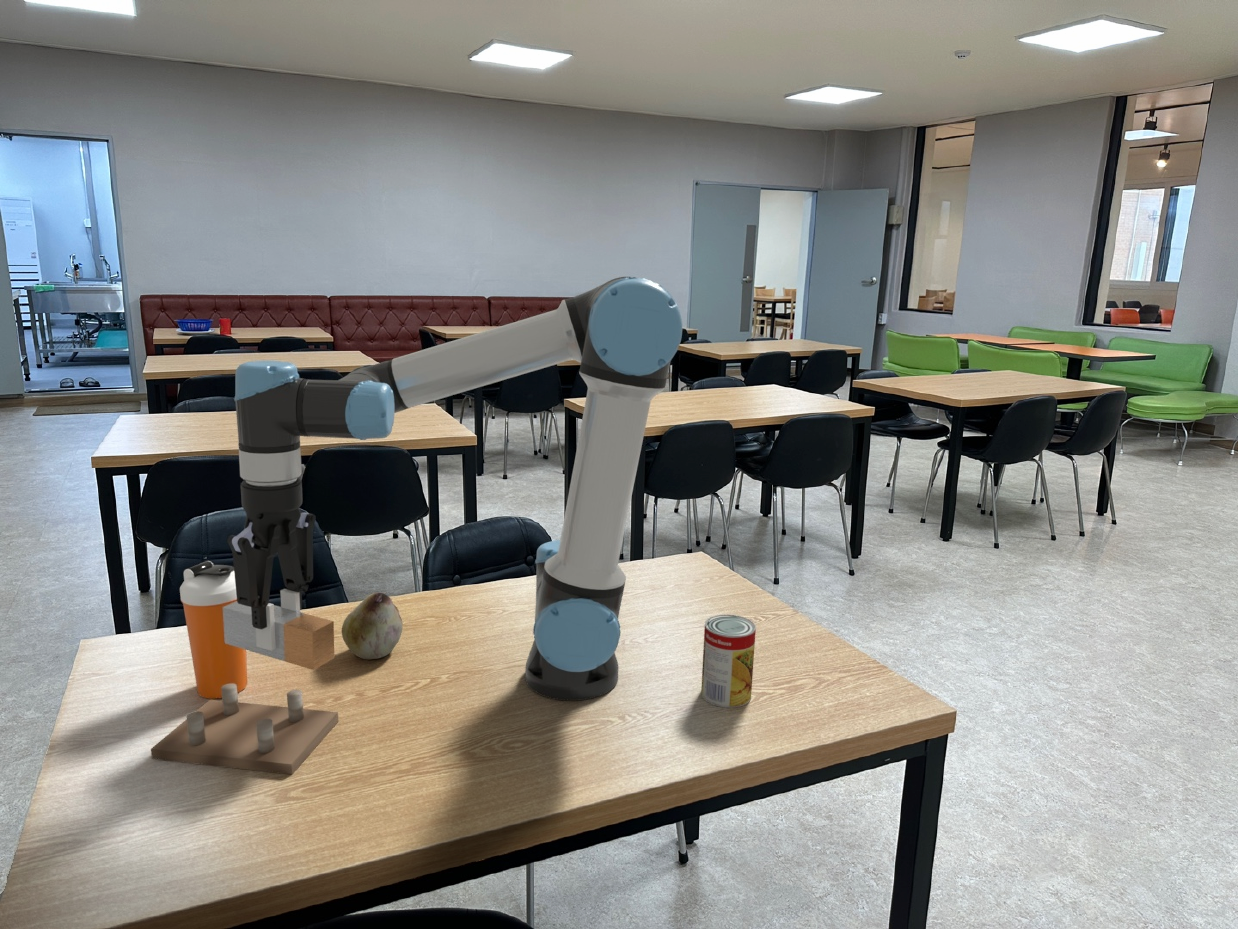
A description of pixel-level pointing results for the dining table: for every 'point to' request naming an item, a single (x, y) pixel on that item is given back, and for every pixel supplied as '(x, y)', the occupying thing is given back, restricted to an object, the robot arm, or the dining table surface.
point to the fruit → (373, 627)
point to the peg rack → (247, 734)
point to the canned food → (728, 660)
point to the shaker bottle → (212, 628)
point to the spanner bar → (283, 635)
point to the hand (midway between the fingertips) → (279, 640)
